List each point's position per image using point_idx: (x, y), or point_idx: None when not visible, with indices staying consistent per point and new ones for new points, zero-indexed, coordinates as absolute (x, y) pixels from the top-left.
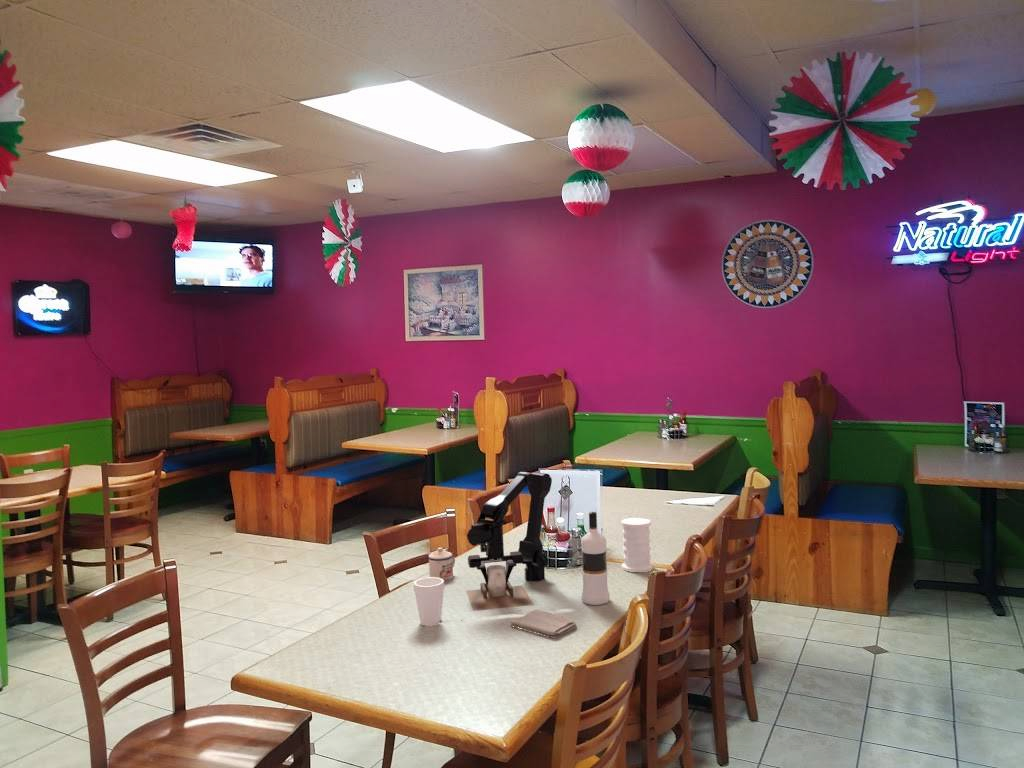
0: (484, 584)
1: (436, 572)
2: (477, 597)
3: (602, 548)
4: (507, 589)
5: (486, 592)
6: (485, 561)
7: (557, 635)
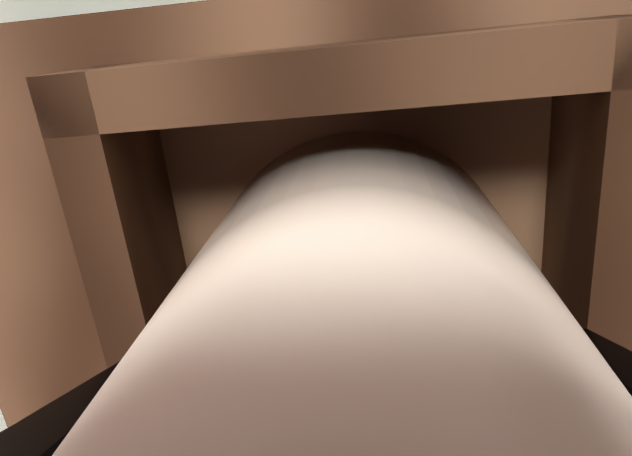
0: (122, 128)
1: None
2: (89, 359)
3: None
4: (553, 178)
5: None
6: None
7: None
